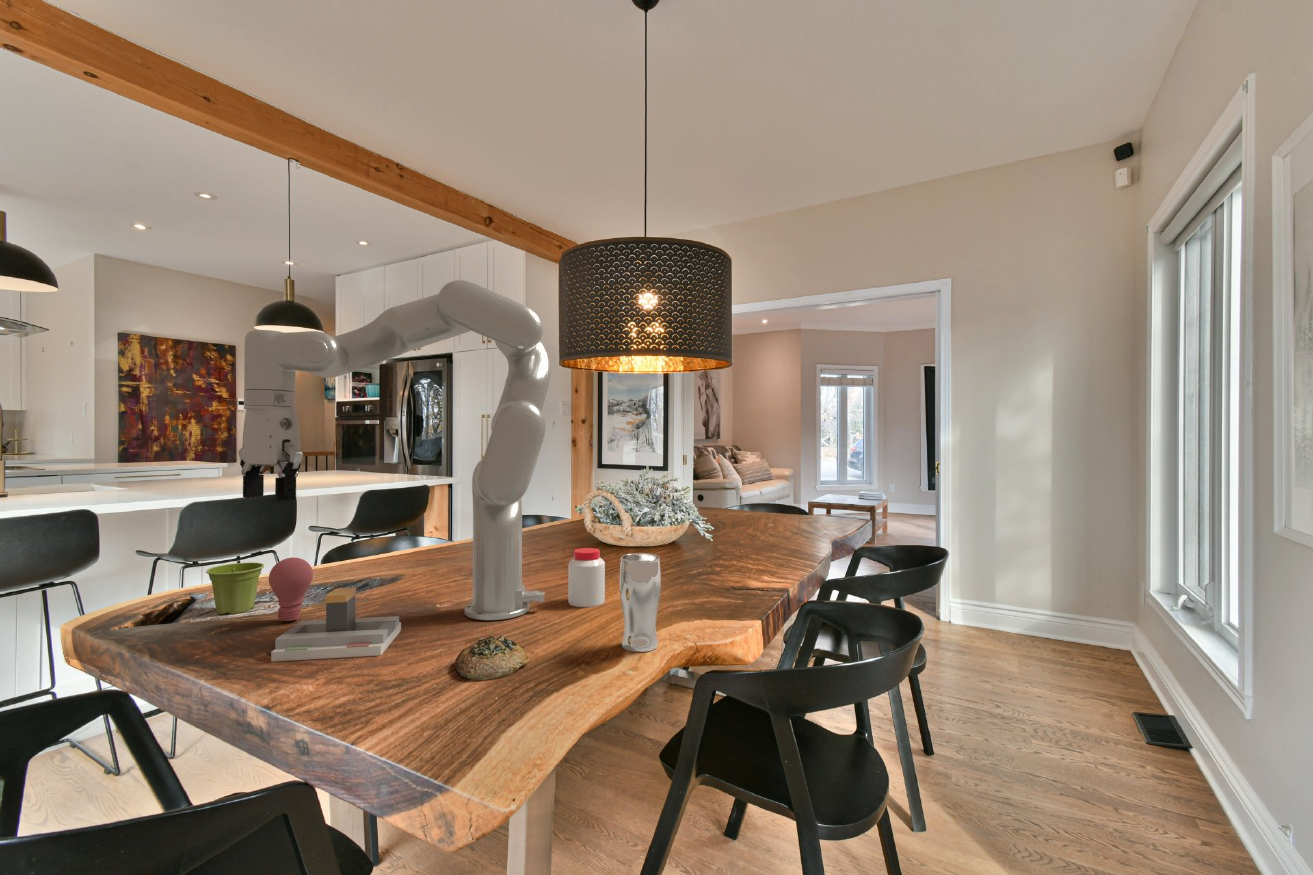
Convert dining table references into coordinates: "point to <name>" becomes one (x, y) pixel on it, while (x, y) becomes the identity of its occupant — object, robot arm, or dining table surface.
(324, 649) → the switch panel
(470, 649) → the bread roll
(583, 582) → the pill bottle
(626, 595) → the beer glass
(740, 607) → the dining table surface
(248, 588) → the plant pot
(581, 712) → the dining table surface
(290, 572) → the light bulb
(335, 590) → the breaker handle
